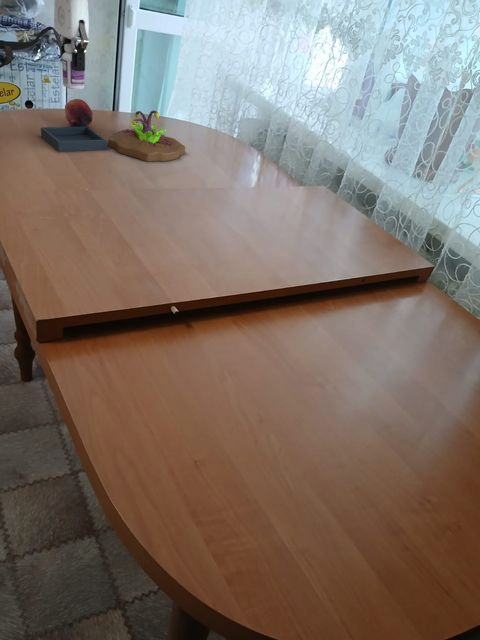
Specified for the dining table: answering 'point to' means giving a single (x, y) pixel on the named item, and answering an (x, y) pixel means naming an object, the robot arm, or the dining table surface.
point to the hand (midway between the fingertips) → (73, 66)
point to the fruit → (78, 113)
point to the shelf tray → (73, 138)
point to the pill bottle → (70, 76)
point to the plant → (146, 141)
